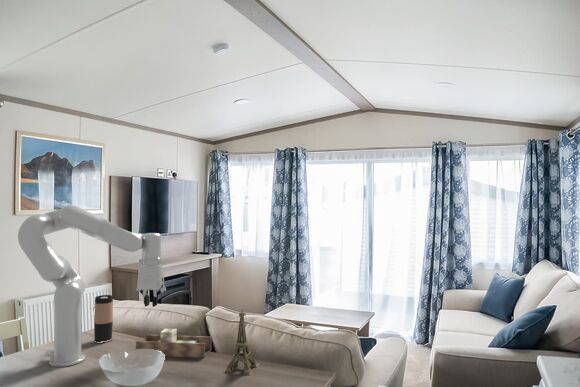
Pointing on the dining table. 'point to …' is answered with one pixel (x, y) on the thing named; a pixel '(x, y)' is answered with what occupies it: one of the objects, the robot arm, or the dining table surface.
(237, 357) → the eiffel tower
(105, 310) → the travel mug
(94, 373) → the dining table surface
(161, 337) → the block
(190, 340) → the box
